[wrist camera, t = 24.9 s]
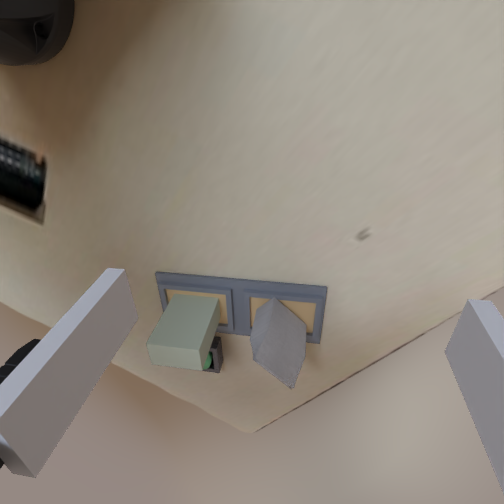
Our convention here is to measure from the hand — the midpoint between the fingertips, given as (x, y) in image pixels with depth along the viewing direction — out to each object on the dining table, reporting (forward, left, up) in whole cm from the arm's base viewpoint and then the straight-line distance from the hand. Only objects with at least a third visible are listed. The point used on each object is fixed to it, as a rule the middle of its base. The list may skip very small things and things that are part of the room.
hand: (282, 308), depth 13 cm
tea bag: (-2, -25, -26) cm, 36 cm away
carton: (-15, -25, -26) cm, 39 cm away
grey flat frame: (-8, -25, -27) cm, 37 cm away
